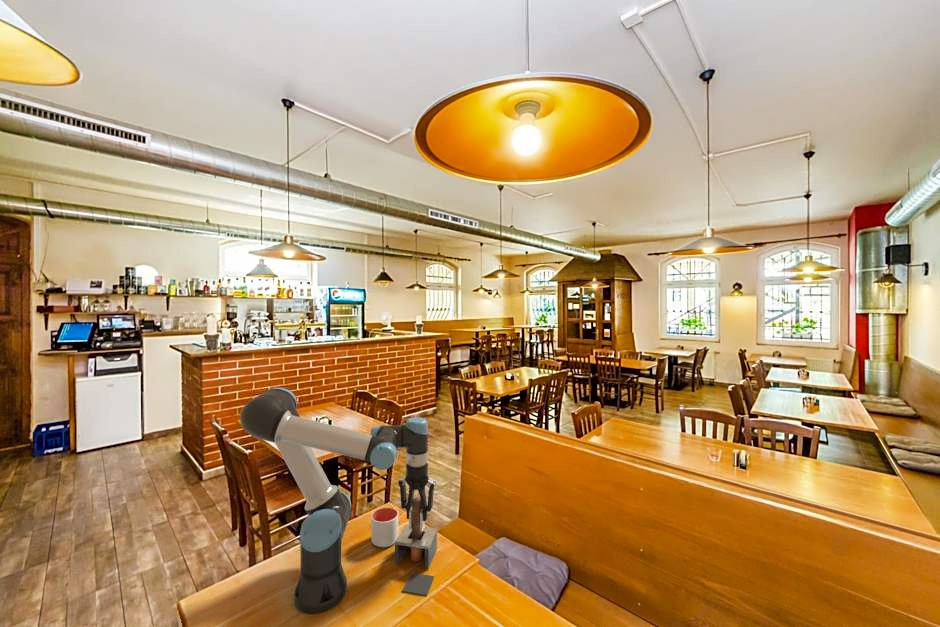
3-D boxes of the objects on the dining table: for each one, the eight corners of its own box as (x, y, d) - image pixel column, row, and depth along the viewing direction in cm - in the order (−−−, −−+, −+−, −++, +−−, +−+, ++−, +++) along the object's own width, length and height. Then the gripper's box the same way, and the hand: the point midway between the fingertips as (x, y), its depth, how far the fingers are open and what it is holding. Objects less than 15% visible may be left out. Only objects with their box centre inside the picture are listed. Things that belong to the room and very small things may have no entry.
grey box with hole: (394, 564, 130) (394, 541, 129) (405, 545, 140) (405, 524, 139) (428, 569, 127) (428, 546, 127) (436, 550, 137) (436, 528, 137)
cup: (403, 537, 144) (403, 512, 144) (384, 552, 136) (384, 525, 135) (384, 529, 149) (384, 504, 149) (365, 542, 141) (365, 516, 141)
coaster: (402, 591, 118) (402, 590, 118) (411, 573, 125) (411, 572, 125) (426, 596, 116) (426, 594, 116) (434, 577, 124) (434, 576, 124)
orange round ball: (409, 560, 132) (409, 547, 132) (413, 552, 136) (413, 540, 136) (419, 561, 131) (419, 549, 131) (423, 554, 135) (423, 542, 135)
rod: (410, 547, 132) (410, 502, 131) (413, 541, 135) (413, 497, 135) (419, 548, 131) (419, 503, 131) (422, 542, 135) (423, 498, 134)
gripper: (390, 465, 130) (390, 531, 131) (436, 469, 127) (436, 537, 128) (399, 456, 138) (398, 519, 138) (442, 460, 134) (442, 524, 135)
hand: (416, 528), depth 133 cm, fingers closed on rod, 3 cm apart
